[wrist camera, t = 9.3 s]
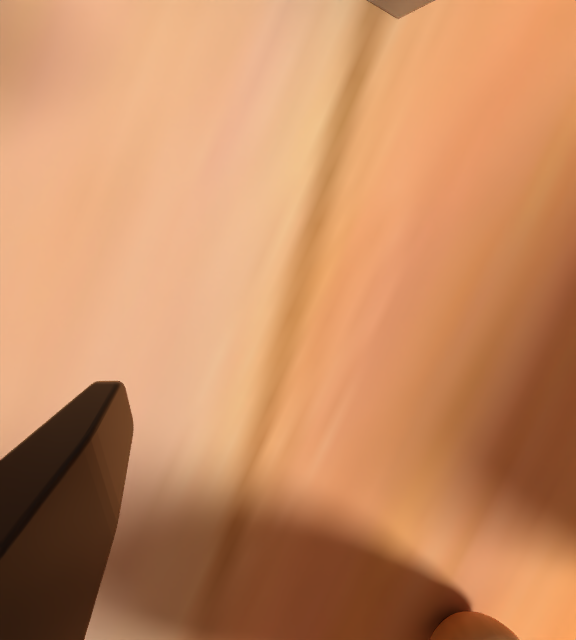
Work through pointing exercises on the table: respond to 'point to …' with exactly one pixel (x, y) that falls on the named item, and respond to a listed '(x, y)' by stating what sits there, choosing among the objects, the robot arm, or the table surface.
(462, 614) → the spiral seashell
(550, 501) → the table surface
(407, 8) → the plate
